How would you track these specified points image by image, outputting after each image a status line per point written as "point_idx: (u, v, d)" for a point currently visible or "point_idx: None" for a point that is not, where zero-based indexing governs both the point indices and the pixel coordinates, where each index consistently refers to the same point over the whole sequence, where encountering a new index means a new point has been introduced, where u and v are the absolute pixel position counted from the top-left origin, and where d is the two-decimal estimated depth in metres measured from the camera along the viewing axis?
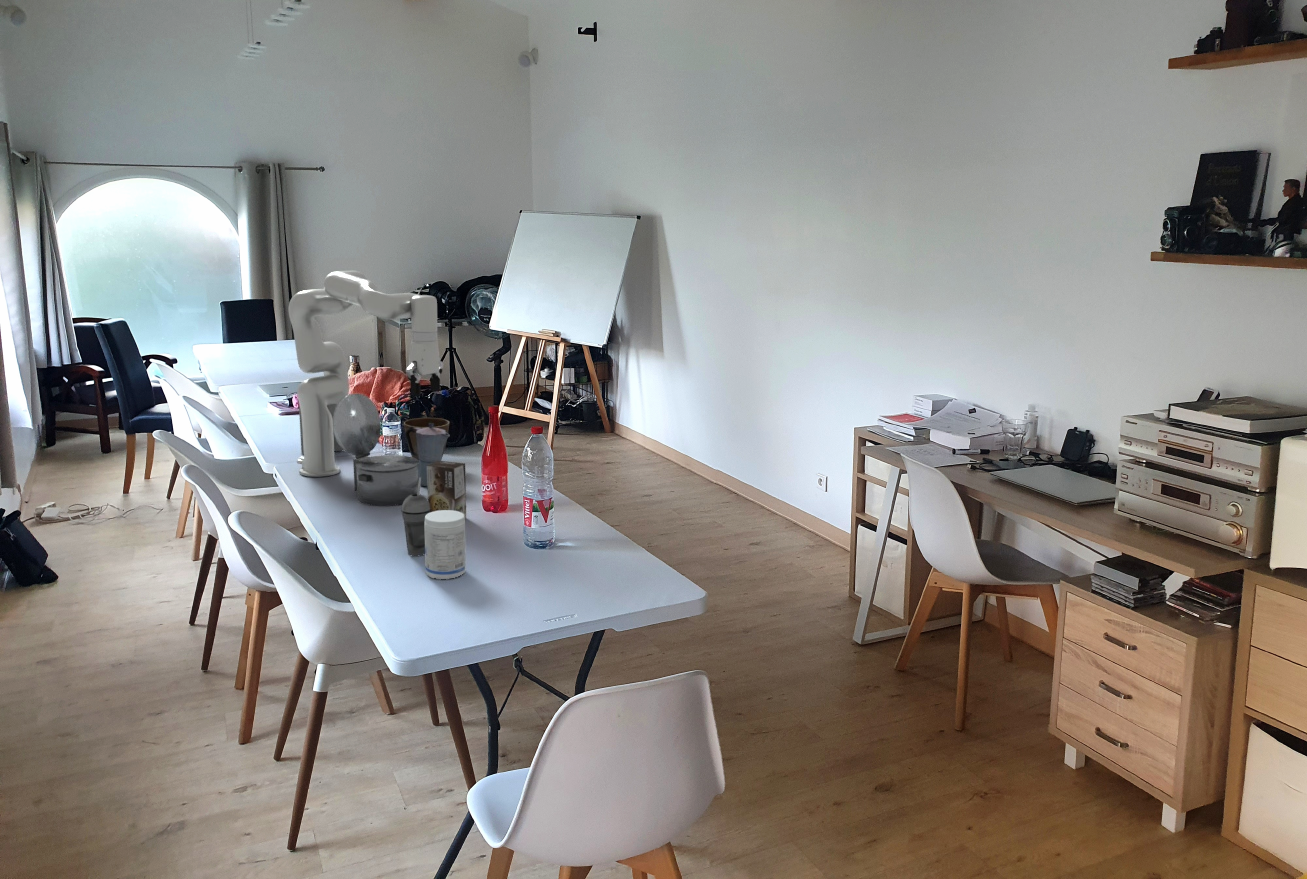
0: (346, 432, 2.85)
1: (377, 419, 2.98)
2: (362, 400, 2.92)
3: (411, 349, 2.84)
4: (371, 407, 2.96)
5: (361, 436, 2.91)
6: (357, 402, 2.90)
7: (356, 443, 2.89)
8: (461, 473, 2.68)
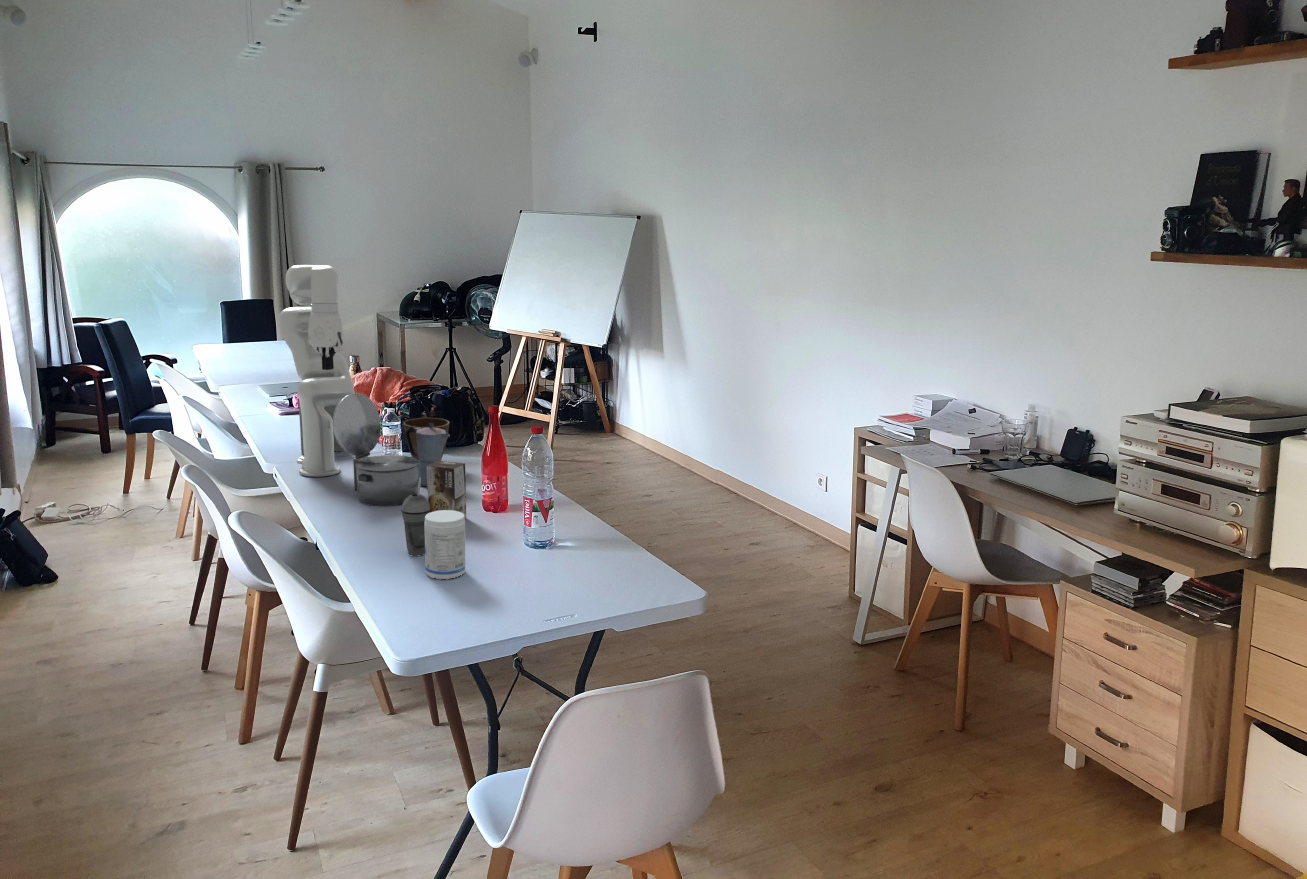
0: (346, 432, 2.85)
1: (377, 419, 2.98)
2: (362, 400, 2.92)
3: (334, 321, 2.85)
4: (371, 407, 2.96)
5: (361, 436, 2.91)
6: (357, 402, 2.90)
7: (356, 443, 2.89)
8: (461, 473, 2.68)
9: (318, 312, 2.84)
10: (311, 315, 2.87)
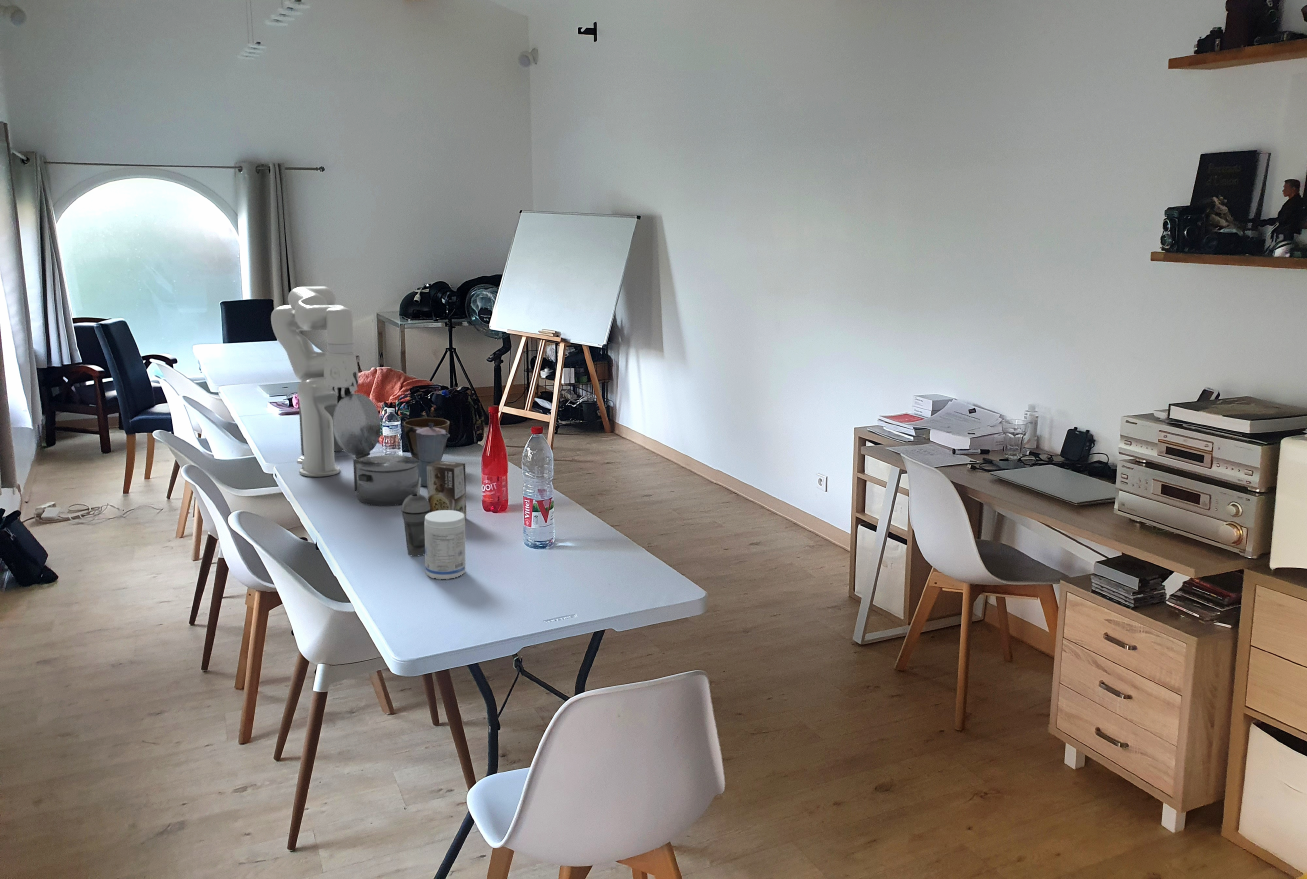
0: (346, 432, 2.85)
1: (377, 419, 2.98)
2: (362, 400, 2.92)
3: (350, 361, 2.85)
4: (371, 407, 2.96)
5: (361, 436, 2.91)
6: (357, 402, 2.90)
7: (356, 443, 2.89)
8: (461, 473, 2.68)
9: (334, 353, 2.84)
10: (327, 355, 2.87)
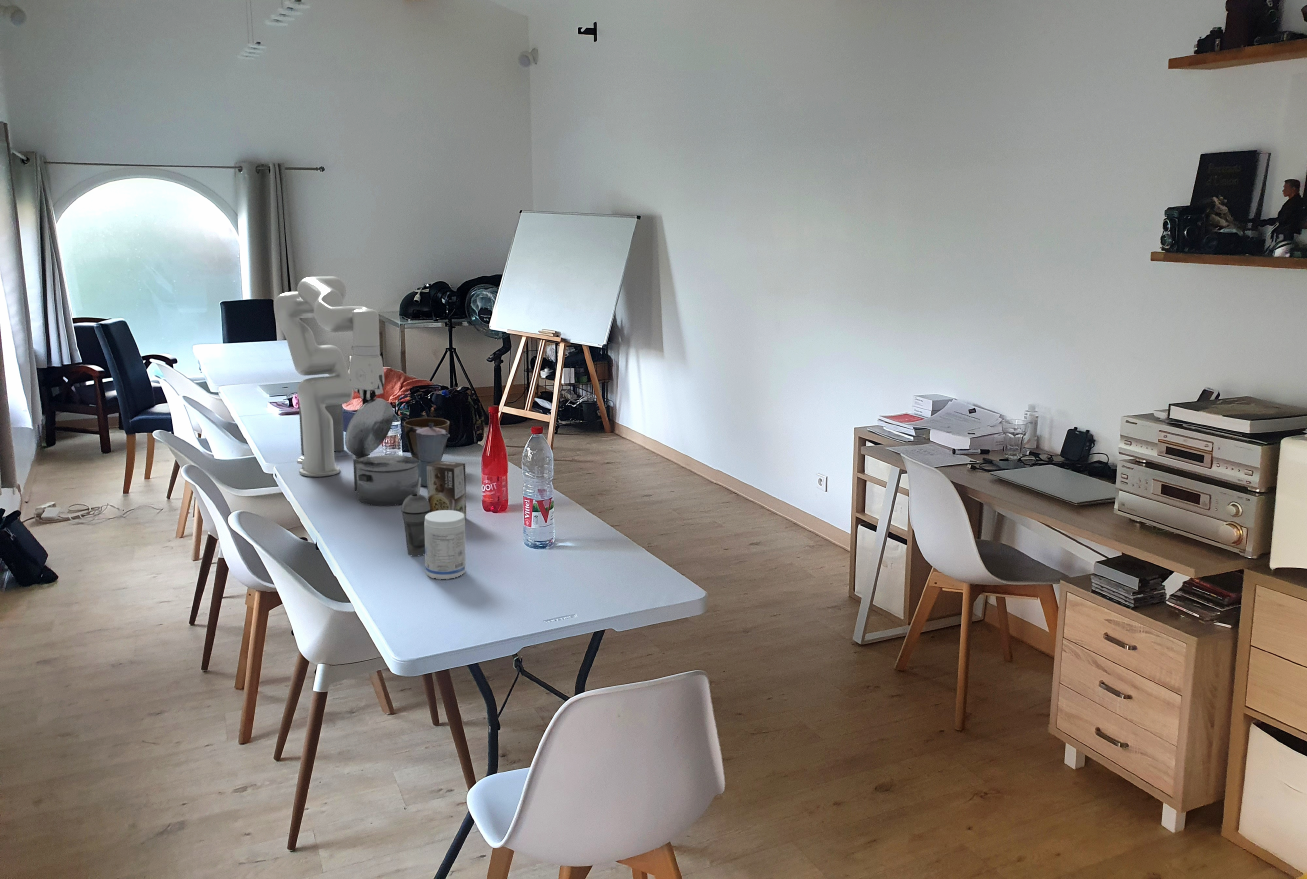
0: (357, 436, 2.84)
1: (389, 423, 2.96)
2: (383, 406, 2.89)
3: (376, 364, 2.81)
4: (389, 412, 2.93)
5: (368, 439, 2.90)
6: (378, 408, 2.87)
7: (361, 445, 2.88)
8: (461, 473, 2.68)
9: (360, 355, 2.80)
10: (352, 357, 2.83)
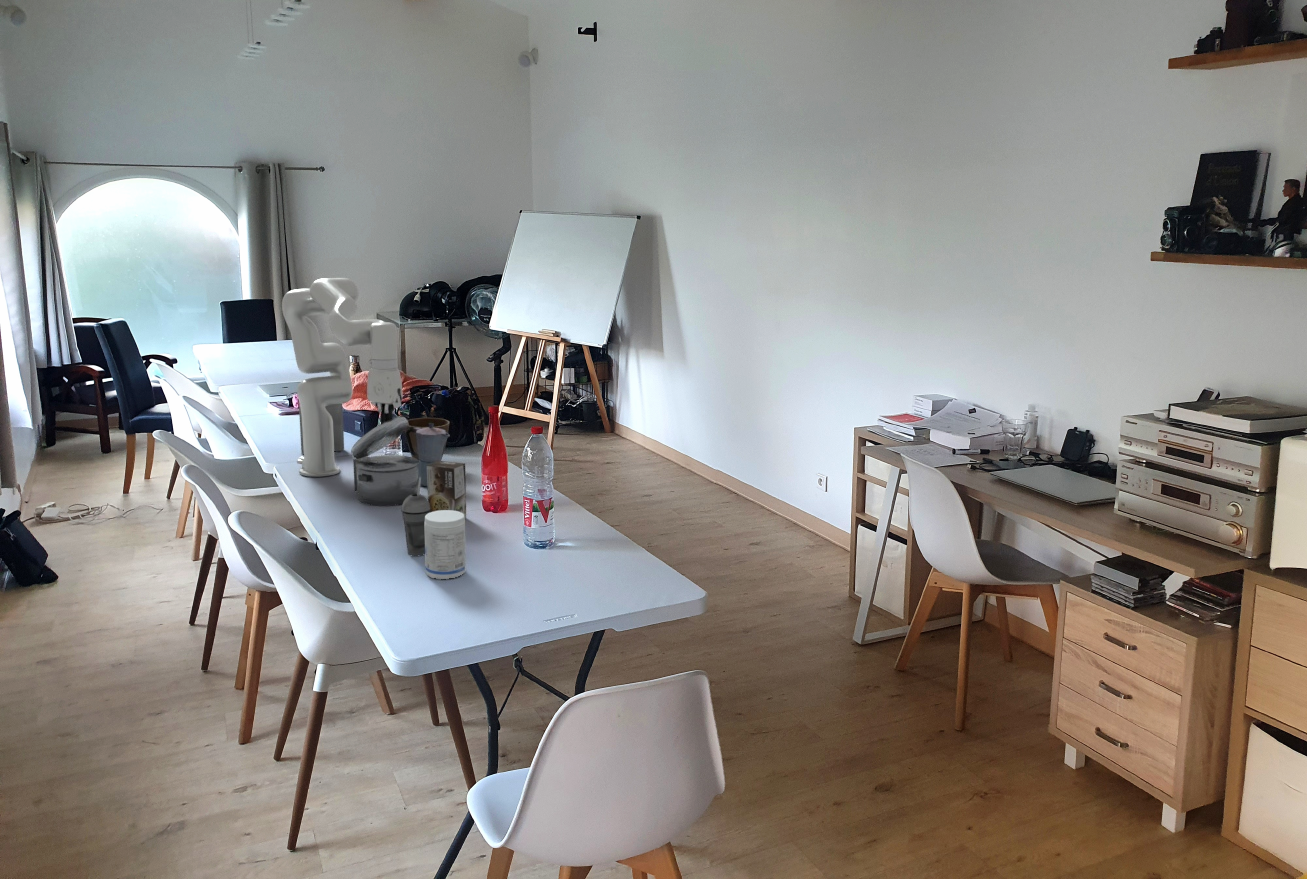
0: (365, 445, 2.83)
1: (399, 434, 2.95)
2: (401, 424, 2.87)
3: (394, 377, 2.79)
4: (403, 427, 2.92)
5: (374, 446, 2.89)
6: (395, 426, 2.85)
7: (365, 450, 2.88)
8: (461, 473, 2.68)
9: (378, 368, 2.78)
10: (370, 371, 2.81)
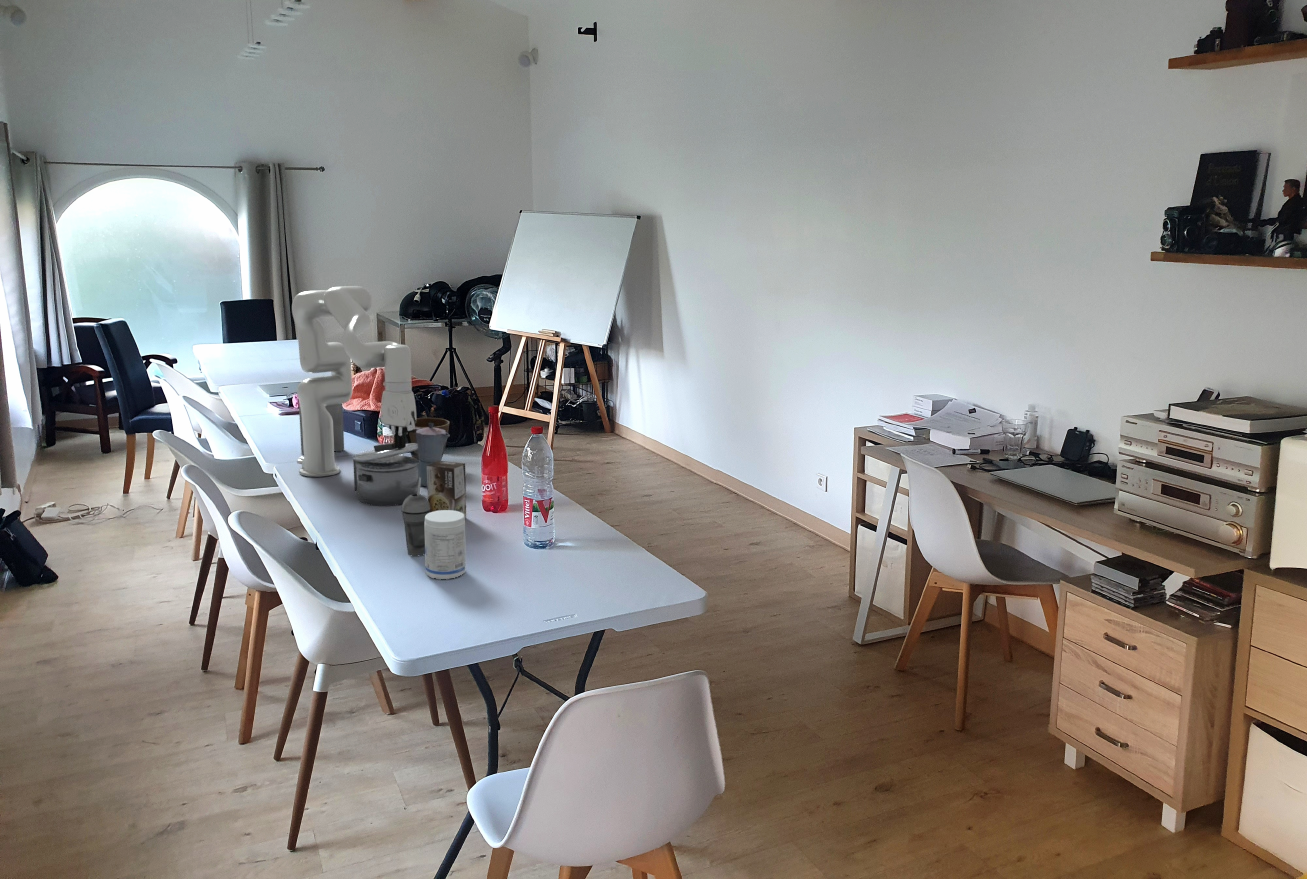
0: None
1: None
2: None
3: (408, 400, 2.79)
4: None
5: None
6: None
7: None
8: (461, 473, 2.68)
9: (392, 391, 2.78)
10: (384, 393, 2.81)
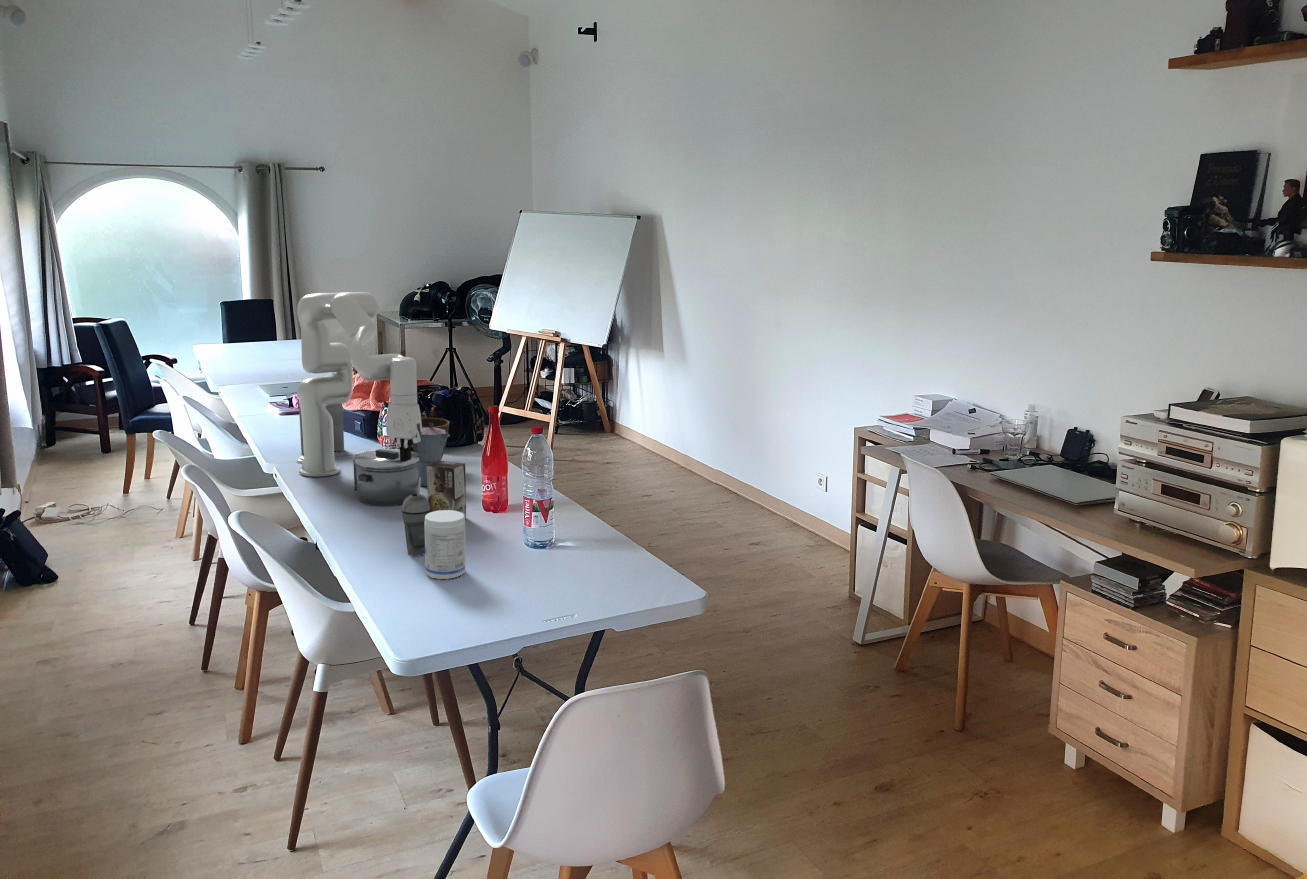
0: None
1: None
2: None
3: (414, 413, 2.79)
4: None
5: None
6: None
7: None
8: (461, 473, 2.68)
9: (398, 404, 2.78)
10: (390, 406, 2.81)
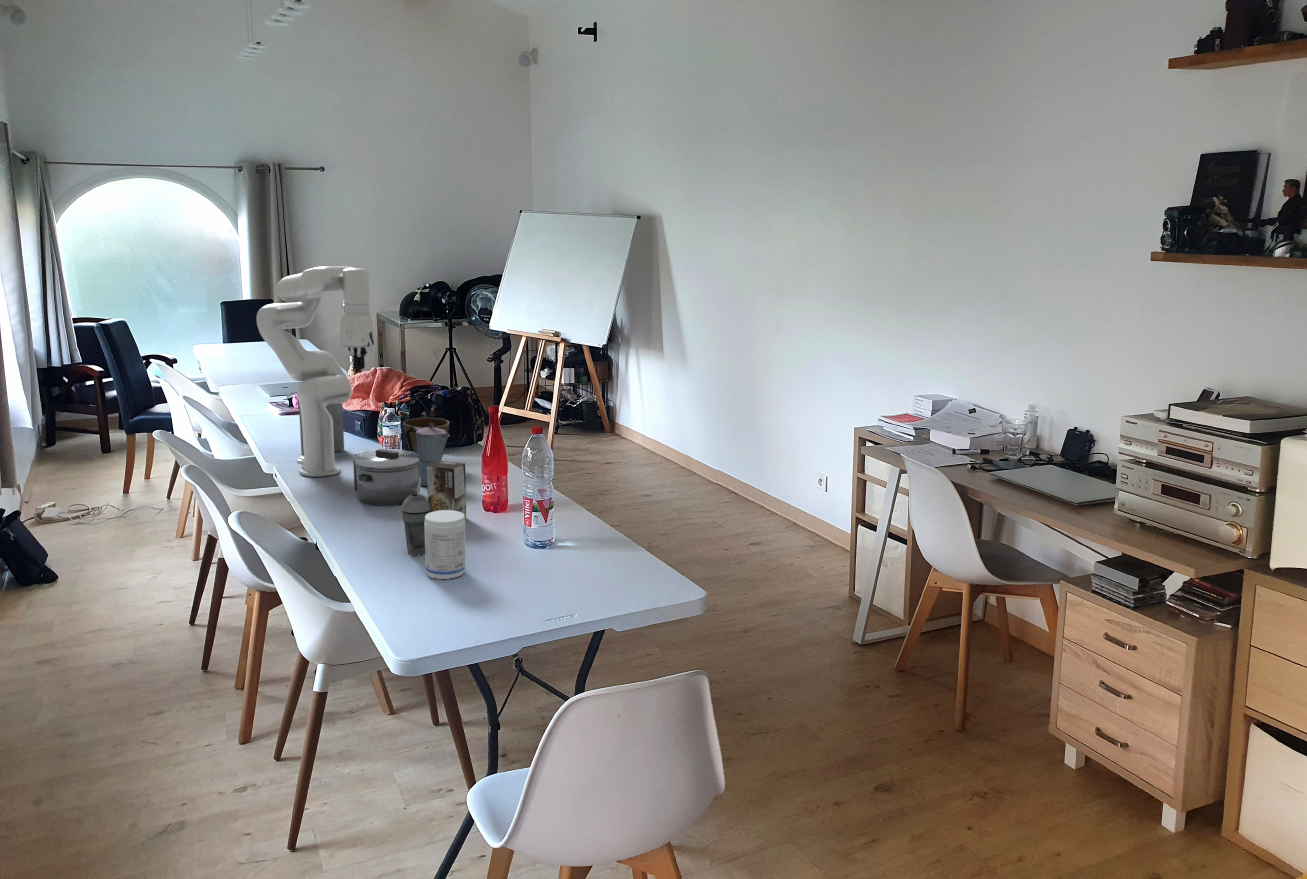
0: None
1: None
2: None
3: (366, 321, 2.89)
4: None
5: None
6: None
7: None
8: (461, 473, 2.68)
9: (350, 312, 2.88)
10: (343, 315, 2.91)
